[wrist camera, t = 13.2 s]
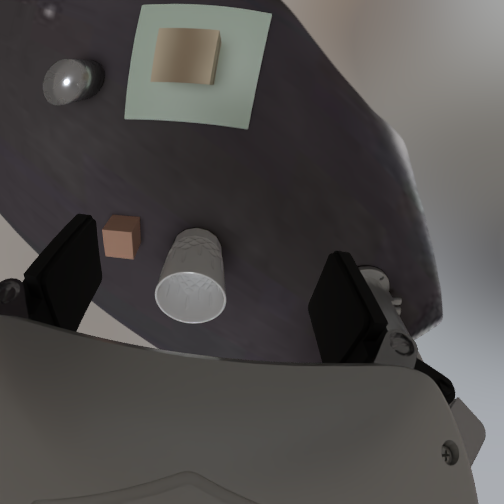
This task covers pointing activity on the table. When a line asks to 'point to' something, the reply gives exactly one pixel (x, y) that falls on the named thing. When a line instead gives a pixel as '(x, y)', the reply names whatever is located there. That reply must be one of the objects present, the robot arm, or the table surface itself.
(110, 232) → the terracotta cube
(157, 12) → the sage plate
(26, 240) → the table surface
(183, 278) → the white cup
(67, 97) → the grey metal cylinder
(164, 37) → the maple block
